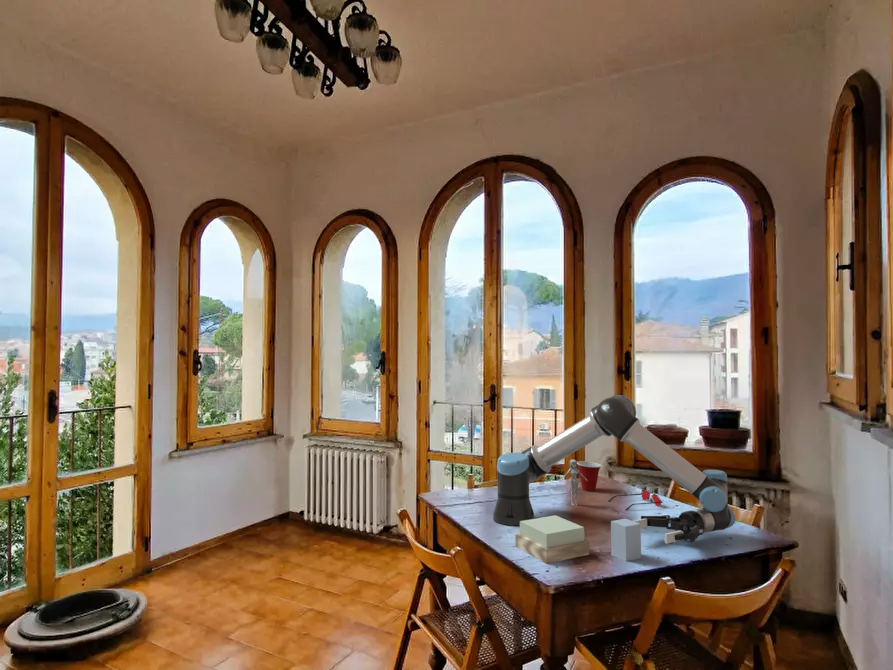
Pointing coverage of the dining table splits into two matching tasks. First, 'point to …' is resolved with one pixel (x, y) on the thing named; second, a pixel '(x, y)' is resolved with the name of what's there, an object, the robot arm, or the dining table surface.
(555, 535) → the top brick
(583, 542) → the base brick
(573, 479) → the human figurine
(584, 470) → the plastic cup
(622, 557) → the tall brick
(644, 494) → the glasses
